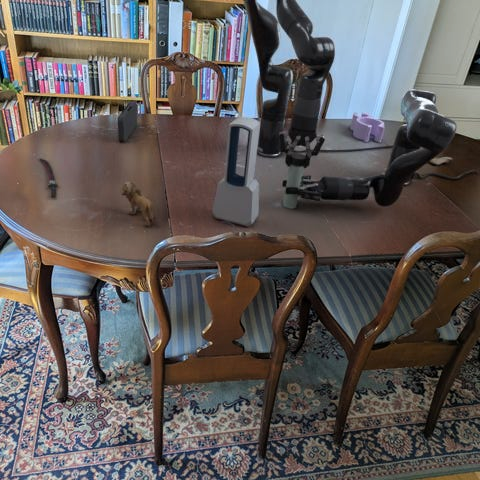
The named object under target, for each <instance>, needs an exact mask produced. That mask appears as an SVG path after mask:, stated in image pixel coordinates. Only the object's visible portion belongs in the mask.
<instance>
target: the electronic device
mask: <svg viewBox="0 0 480 480" xmlns="http://www.w3.org/2000/svg"><path fill="white" fill-rule="evenodd" d="M260 122H261V121H259V120H257V119H255V118H252V117H249V116H240V117H236V118H235V119H233V121H232V122H230V123H229V124H228V127H227V129H228V130H227V142H226V153H225V166H224V167H225V168H224V177H223V178H222V179H221V180H220V181H219V182H218V184H217V186H216V191H215V196H214V201H213V205H212V209H211V210H212V211H211V212H212V215H213V217H215V219H217V220H221V221H225V222H229V223H233V224H237V225H241V226H245V227H250V226H251V225H253V223H254V222H255V221H256V219H257V218H258V216H259V207H260V205H259V203H260V183H259V182H258V181H257V179H256V178H255V169H256V162H257V154H258V153H257V146H258V139H259V131H260ZM241 129H243V130H244V131H247V142H246V143H247V144H246V153H245V162H244V171H243V175H241V174H238V173H237V162H238V152H239V143H240V142H239V141H240V131H241Z"/></svg>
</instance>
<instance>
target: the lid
mask: <svg viewBox="0 0 480 480" xmlns="http://www.w3.org/2000/svg"><path fill="white" fill-rule="evenodd" d="M305 155H306V154H303V153H301V152H300V153H295V152H292V154H291V162H290V163H291V164H292V165H295V166H303V165H304V164H305V160H306V156H305Z"/></svg>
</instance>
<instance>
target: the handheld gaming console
mask: <svg viewBox="0 0 480 480" xmlns="http://www.w3.org/2000/svg"><path fill="white" fill-rule="evenodd" d="M137 124H138V103H137V101H135V100H130V101H129V102H128V103H127V105H126V106H125V107H124V108H123V109H122V110H121V111H120V114H119V115H118V116H117V139H118V141H119V142H126V141H127V140H128V138H129V137H130V135H131V134H132V132H133V131H134V129H135V128H136V126H137Z"/></svg>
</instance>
